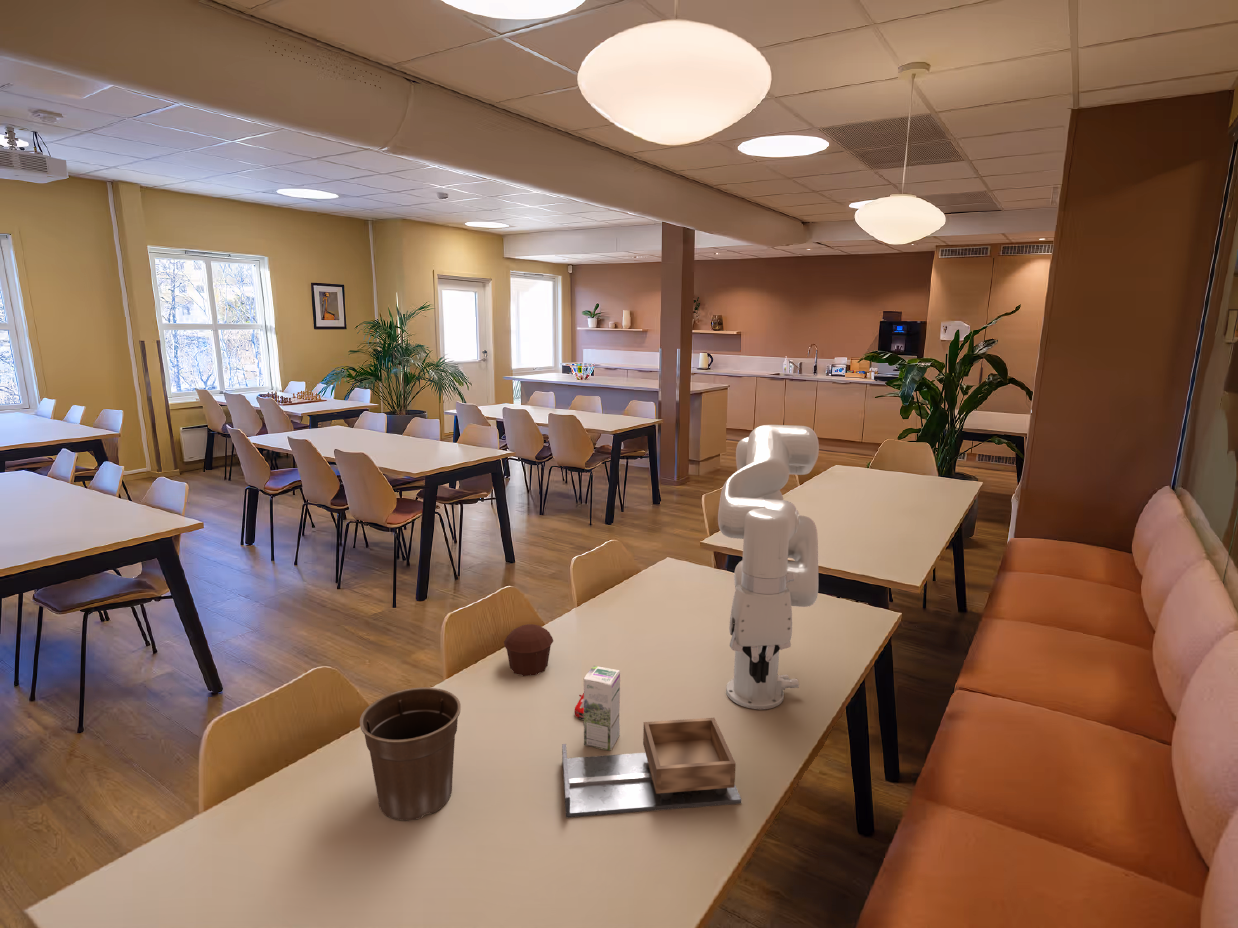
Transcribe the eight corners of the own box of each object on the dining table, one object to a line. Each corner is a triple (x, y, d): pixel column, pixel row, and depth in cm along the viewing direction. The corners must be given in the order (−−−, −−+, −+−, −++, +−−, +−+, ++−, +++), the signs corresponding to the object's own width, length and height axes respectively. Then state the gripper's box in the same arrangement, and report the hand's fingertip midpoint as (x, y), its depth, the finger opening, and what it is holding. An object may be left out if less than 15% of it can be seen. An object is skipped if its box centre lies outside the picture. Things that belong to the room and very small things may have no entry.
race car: (595, 725, 135) (595, 708, 134) (570, 720, 137) (570, 703, 136) (615, 692, 147) (615, 676, 147) (592, 688, 149) (592, 672, 148)
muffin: (512, 683, 150) (511, 642, 148) (498, 661, 160) (497, 623, 158) (560, 671, 156) (560, 632, 154) (544, 651, 165) (543, 614, 163)
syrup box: (620, 735, 131) (621, 668, 128) (610, 752, 126) (610, 683, 123) (593, 729, 133) (593, 663, 130) (582, 746, 128) (582, 677, 125)
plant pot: (387, 764, 122) (382, 684, 119) (474, 766, 121) (471, 687, 118) (349, 829, 106) (342, 739, 103) (449, 832, 106) (444, 742, 102)
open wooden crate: (713, 748, 126) (714, 717, 125) (734, 797, 113) (735, 763, 111) (643, 753, 124) (643, 722, 123) (655, 803, 111) (656, 769, 110)
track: (718, 751, 127) (719, 733, 126) (741, 803, 113) (742, 783, 112) (562, 762, 123) (562, 743, 122) (565, 817, 109) (565, 797, 108)
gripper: (797, 571, 117) (790, 666, 121) (715, 574, 115) (711, 670, 119) (814, 587, 110) (807, 687, 114) (727, 591, 108) (723, 692, 112)
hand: (758, 678), depth 116 cm, fingers closed
